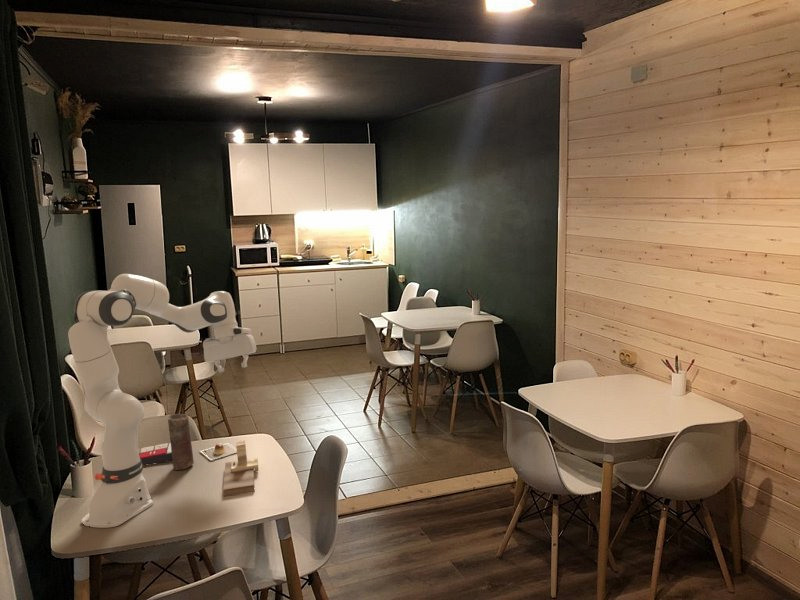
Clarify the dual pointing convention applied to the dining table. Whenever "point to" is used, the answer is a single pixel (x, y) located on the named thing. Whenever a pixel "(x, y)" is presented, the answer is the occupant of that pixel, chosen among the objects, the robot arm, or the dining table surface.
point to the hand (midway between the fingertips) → (233, 369)
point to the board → (238, 481)
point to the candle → (180, 441)
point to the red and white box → (156, 454)
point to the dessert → (219, 450)
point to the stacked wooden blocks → (243, 459)
